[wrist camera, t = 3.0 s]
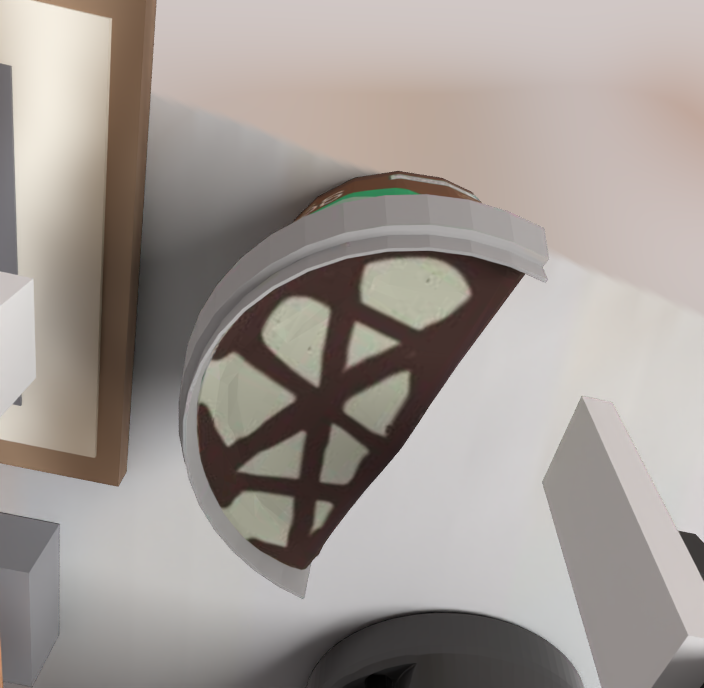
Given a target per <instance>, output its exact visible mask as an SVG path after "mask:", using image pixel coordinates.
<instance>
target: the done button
mask: <svg viewBox="0 0 704 688" xmlns="http://www.w3.org/2000/svg"><path fill="white" fill-rule="evenodd" d="M0 688H3V676H2V660H1V644H0Z"/></svg>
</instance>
